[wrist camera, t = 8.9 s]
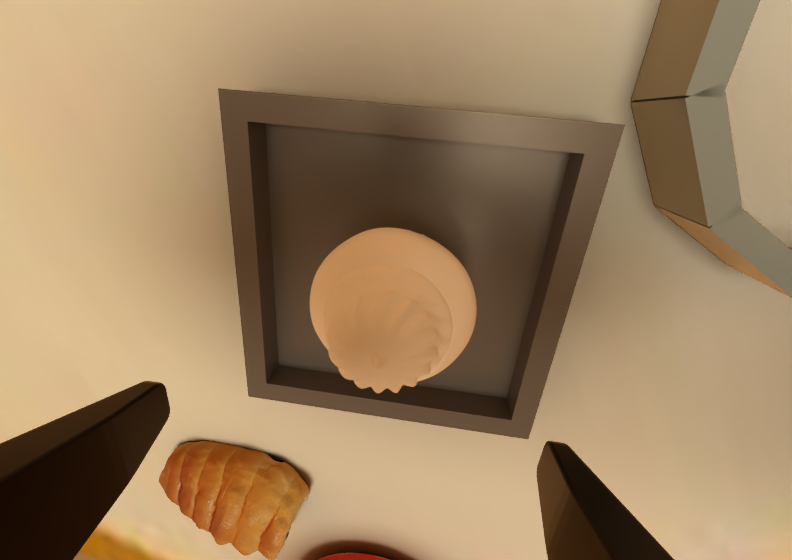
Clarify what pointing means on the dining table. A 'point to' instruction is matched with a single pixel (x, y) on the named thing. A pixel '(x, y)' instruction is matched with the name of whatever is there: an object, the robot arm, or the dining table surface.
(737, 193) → the grey polygonal ring
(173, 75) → the dining table surface
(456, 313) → the muffin
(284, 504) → the pastry
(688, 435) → the dining table surface
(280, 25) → the dining table surface
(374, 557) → the plant pot
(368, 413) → the tray
